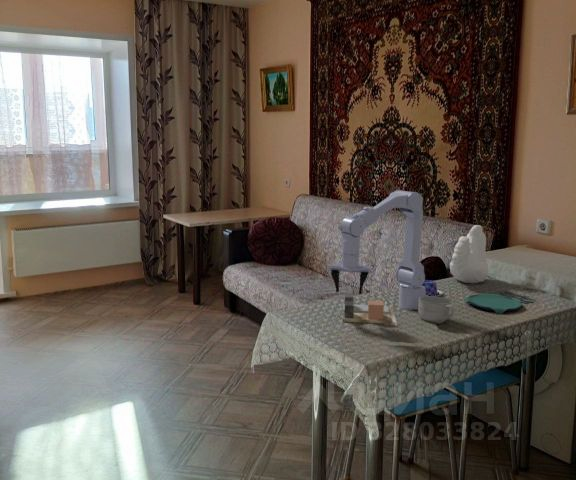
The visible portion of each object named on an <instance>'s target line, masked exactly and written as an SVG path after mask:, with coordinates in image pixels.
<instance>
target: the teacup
mask: <svg viewBox="0 0 576 480" xmlns="http://www.w3.org/2000/svg"><path fill="white" fill-rule="evenodd" d="M417 310H418V312H417V313H418V316H419V317H420V318H421V319H422V320H424V321H427V322H430V323H431V322H432V323H435V325H436V324H443V323H444V322H445V321H447V320H448V319H450V318H451V317H453V316H454V314H455V307H454V306H453V305H452V301H451V300H450V299H448V298H446V297H442V296H436V295H435V296H422V297H419V307H418V309H417Z"/></svg>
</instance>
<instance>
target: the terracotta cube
mask: <svg viewBox="0 0 576 480" xmlns="http://www.w3.org/2000/svg"><path fill="white" fill-rule="evenodd" d="M367 305H368V319H383V311H384V306H385V304H384V301H383V300H367Z"/></svg>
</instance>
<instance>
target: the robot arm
mask: <svg viewBox="0 0 576 480" xmlns="http://www.w3.org/2000/svg"><path fill="white" fill-rule="evenodd" d="M423 204H424V197H423V196H422V195H421V194H420V193H419V192H416V191H406V190H401V189H395V190H394V191H393V192H390V194H389V196H387V197H386V198H384V199H383V200H381V202H379V203H378V204H376V205H375V206H373V207H371V206H365V207H363V208H362V210H361V211H359V212H358V213H354V214H353V215H352V216H351V217H345V218H343V220H342V221H341V222H340V225H339V231H340V232H341V238H342V245H341V246H342V248H341V250H342V251H341V263H340V264H339V263H338V264H336V263H335V264H334V263H333V264H330V263H329V264H328V266H327V267H328V268H327V271H328V272H330V275H331V277H332V280H333V282H334V286H335V293H339V292H340V273H341V272H346V273H347V272H348V273H360V274H359V289H358V295H362V291H363V287H364V284H365V283H366V280H367V278H368V275H369V274H370V275H371V274H372V273H373V272H372V270H373V267H372V266H367V265H365V266H363V265H359V263H360V262H359V261H360V247H361V246H360V243H361V236H362V235H363V234H364V231H365V229H367V228H368V227H370V226H371V225H373V224H375V223H376V222H377V221H379V217H380V216H383V214H385V213H387V212H389V211H391V210H393V209H398V210H400V211H402V213H403V214H404V215H405V216H406V224H405V225H406V226H405V238H404V248H403V249H404V250H403V259H402V260H400V261H399V262H398V265H397V269H396V271H395V279H396V281H397V282H398V283H397V284H398V285H399V290H398V293H399V295H398V297H399V298H398V308H400V309H403V310H410V311H411V310H418V307H419V297H422V296H426V290H425V287H424V286H422V284H423V283H424V281H425V280H426V274H425V267H424V265H423V264H422V263H421V261H420V251H421V242H422V241H421V239H422V229H423V218H424V208H423V206H424V205H423Z"/></svg>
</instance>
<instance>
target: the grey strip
mask: <svg viewBox="0 0 576 480" xmlns="http://www.w3.org/2000/svg"><path fill="white" fill-rule="evenodd" d="M345 301H353V302H354V293H351V292H350V293H348V292H347V293H344V302H345ZM388 307H389V306H388V305H384V311H383V314H389V310H388ZM343 312H345V303H343V304H342V313H343ZM353 313H368V304H355V303H354V312H353Z"/></svg>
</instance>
